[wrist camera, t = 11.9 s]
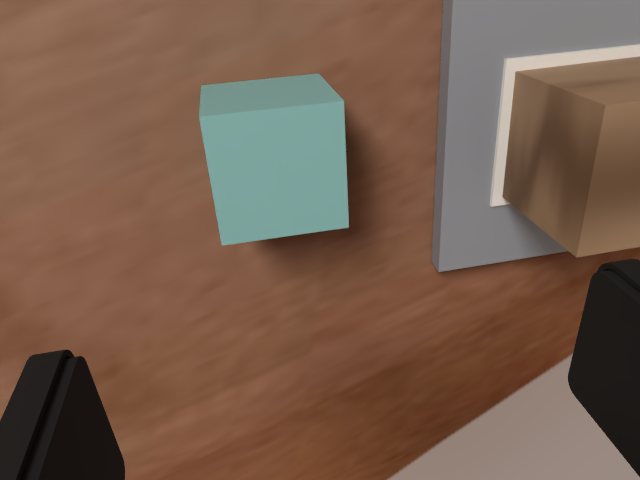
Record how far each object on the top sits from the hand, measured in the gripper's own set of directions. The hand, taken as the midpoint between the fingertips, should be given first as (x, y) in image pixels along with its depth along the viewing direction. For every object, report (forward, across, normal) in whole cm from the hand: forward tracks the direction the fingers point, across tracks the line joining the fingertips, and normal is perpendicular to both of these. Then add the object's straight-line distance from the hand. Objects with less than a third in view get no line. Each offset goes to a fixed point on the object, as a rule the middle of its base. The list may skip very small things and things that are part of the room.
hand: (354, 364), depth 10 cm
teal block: (+16, 0, +1) cm, 16 cm away
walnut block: (+14, -14, +2) cm, 20 cm away
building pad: (+16, -14, +2) cm, 21 cm away
